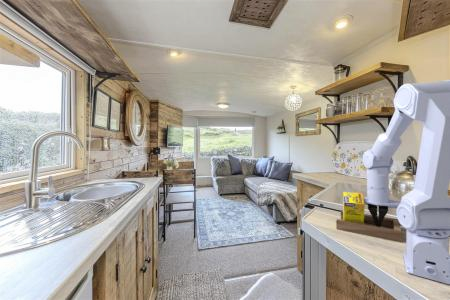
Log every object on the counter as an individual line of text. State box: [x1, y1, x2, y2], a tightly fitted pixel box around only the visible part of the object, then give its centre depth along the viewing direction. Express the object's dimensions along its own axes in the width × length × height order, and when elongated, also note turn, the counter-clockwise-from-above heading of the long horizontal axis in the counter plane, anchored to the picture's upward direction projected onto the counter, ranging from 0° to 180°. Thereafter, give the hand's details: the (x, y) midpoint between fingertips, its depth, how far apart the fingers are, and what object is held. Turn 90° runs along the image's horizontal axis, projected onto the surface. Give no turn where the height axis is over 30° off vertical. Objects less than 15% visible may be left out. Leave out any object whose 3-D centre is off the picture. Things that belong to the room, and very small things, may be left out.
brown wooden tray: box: [335, 209, 402, 243], centre depth 69 cm, size 11×17×3 cm, turn 52°
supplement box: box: [342, 191, 366, 224], centre depth 70 cm, size 6×6×11 cm
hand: (378, 227), depth 67 cm, fingers closed
